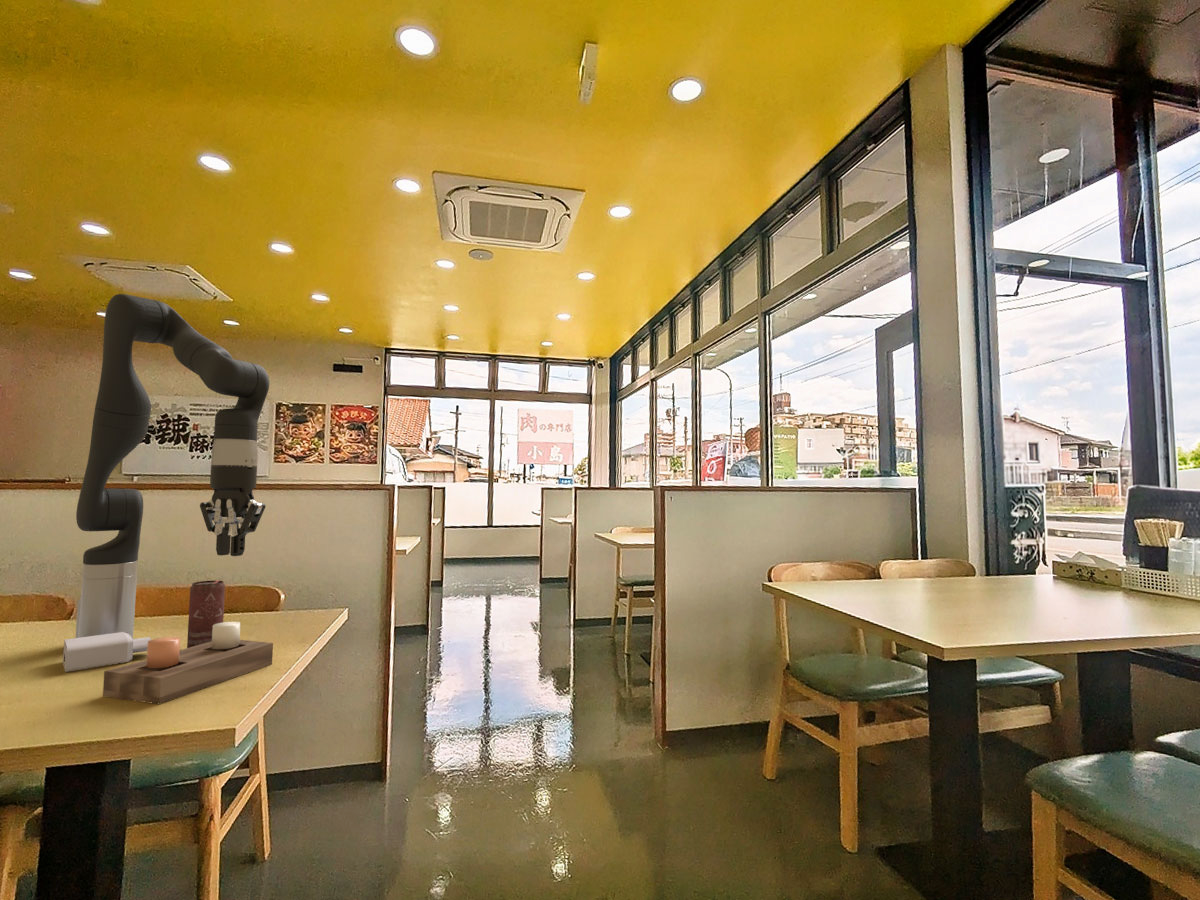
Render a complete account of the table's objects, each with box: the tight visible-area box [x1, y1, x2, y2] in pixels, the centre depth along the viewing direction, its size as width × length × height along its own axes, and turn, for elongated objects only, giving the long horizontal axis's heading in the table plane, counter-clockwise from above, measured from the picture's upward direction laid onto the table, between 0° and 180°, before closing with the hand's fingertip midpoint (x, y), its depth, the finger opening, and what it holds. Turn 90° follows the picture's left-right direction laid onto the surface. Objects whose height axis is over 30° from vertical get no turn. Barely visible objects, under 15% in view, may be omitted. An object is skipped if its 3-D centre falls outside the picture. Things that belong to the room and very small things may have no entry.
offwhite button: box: [212, 621, 241, 649], centre depth 111 cm, size 4×4×4 cm
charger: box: [62, 632, 153, 673], centre depth 116 cm, size 5×9×15 cm
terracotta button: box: [146, 636, 181, 668], centre depth 99 cm, size 4×4×4 cm
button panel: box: [102, 639, 274, 705], centre depth 105 cm, size 12×22×4 cm, turn 165°
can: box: [186, 579, 226, 648], centre depth 123 cm, size 6×6×14 cm
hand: (230, 554), depth 112 cm, fingers closed
